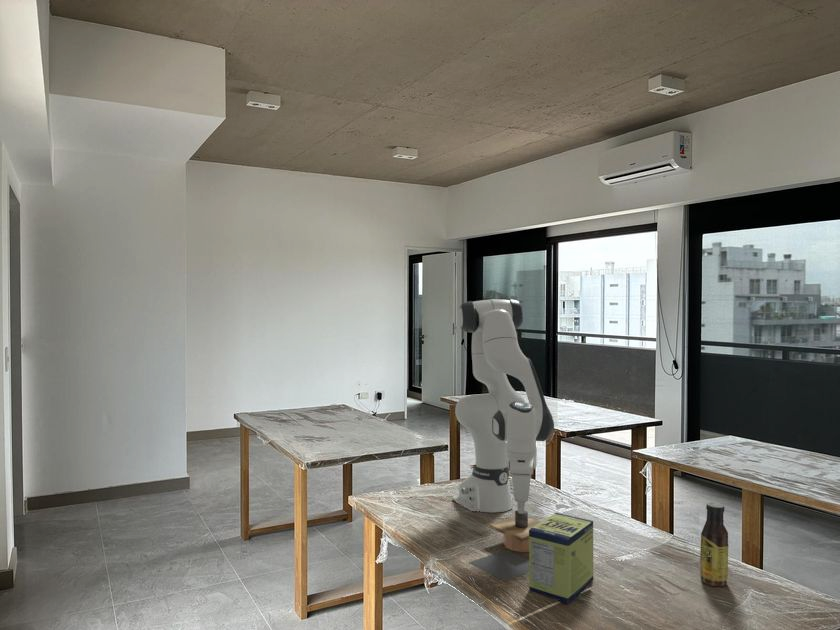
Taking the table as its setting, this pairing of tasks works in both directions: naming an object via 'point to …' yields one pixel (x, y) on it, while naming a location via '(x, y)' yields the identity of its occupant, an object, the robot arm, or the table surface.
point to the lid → (515, 526)
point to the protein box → (561, 557)
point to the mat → (503, 565)
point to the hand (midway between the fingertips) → (520, 506)
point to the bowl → (515, 544)
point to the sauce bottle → (714, 547)
